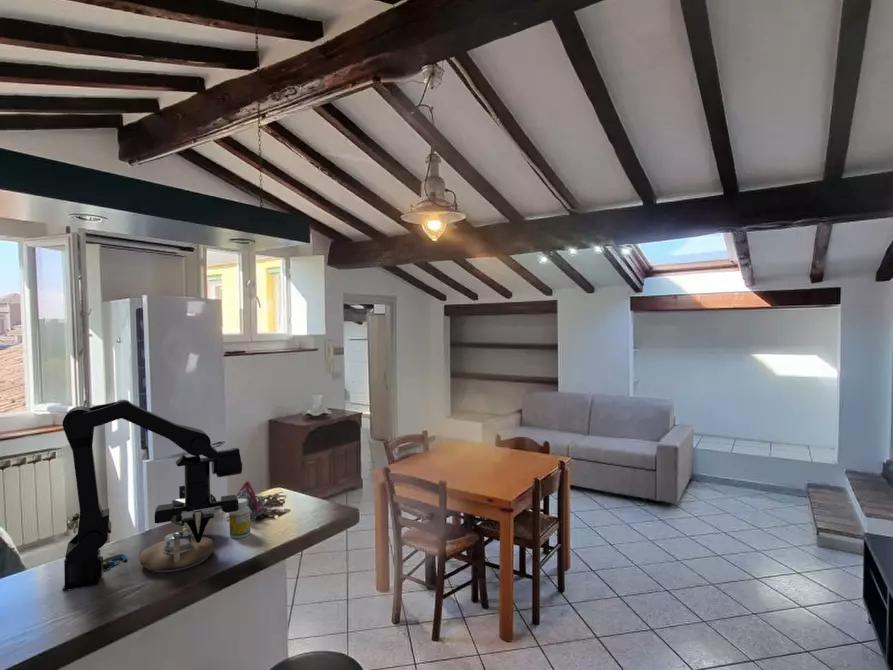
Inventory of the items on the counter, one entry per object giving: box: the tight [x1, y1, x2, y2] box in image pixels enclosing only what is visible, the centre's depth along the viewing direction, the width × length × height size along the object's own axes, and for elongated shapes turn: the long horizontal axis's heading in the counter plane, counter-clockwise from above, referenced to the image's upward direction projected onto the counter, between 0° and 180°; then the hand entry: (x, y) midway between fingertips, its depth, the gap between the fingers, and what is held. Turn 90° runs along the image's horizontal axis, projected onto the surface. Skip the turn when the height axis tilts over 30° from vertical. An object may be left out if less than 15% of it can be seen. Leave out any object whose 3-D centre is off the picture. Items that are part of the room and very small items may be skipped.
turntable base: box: [145, 555, 210, 575], centre depth 126 cm, size 14×14×1 cm
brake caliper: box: [223, 480, 265, 521], centre depth 155 cm, size 11×11×12 cm
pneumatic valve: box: [169, 493, 217, 536], centre depth 141 cm, size 6×12×12 cm, turn 148°
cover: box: [163, 530, 193, 555], centre depth 127 cm, size 7×7×4 cm
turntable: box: [139, 535, 214, 570], centre depth 126 cm, size 16×16×5 cm
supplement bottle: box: [228, 499, 251, 539], centre depth 142 cm, size 5×5×10 cm
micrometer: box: [103, 553, 128, 570], centre depth 123 cm, size 12×2×5 cm
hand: (198, 542), depth 128 cm, fingers closed
